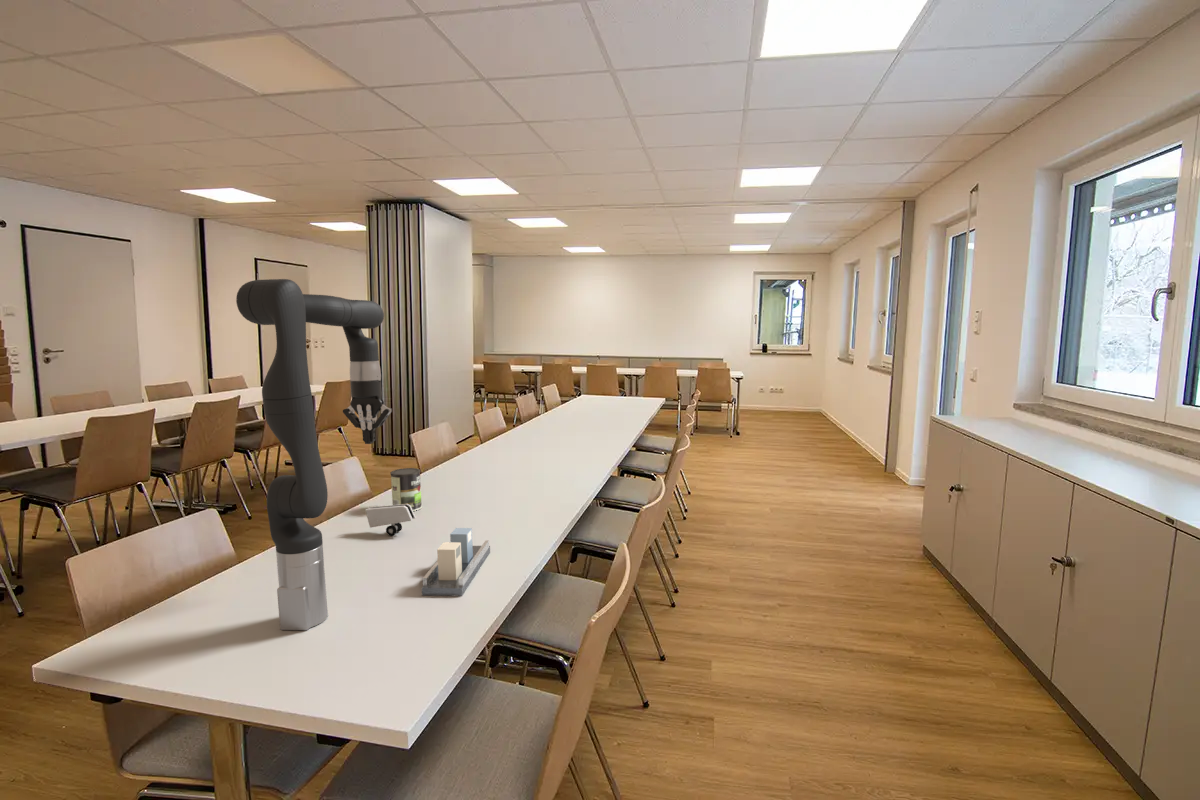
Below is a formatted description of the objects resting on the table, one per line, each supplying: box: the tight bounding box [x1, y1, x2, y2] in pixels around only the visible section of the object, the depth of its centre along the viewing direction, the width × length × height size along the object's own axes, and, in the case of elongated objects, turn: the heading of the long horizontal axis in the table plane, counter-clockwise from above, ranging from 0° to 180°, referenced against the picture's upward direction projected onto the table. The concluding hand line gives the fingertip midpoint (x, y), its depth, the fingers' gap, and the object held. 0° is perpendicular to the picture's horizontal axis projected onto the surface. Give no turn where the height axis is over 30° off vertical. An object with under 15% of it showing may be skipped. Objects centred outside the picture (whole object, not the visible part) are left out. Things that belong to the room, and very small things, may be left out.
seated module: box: [436, 541, 462, 580], centre depth 148 cm, size 5×5×8 cm
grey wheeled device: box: [364, 504, 417, 537], centre depth 185 cm, size 4×10×15 cm
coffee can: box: [390, 467, 423, 512], centre depth 211 cm, size 10×10×14 cm
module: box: [449, 527, 474, 563], centre depth 159 cm, size 5×5×8 cm
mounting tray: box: [421, 539, 491, 597], centre depth 155 cm, size 28×10×4 cm, turn 177°
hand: (369, 443), depth 154 cm, fingers closed
